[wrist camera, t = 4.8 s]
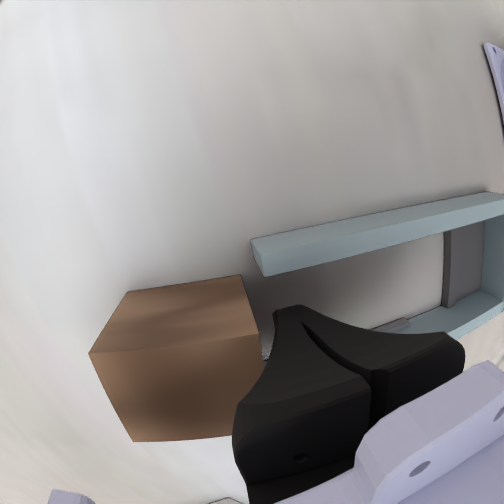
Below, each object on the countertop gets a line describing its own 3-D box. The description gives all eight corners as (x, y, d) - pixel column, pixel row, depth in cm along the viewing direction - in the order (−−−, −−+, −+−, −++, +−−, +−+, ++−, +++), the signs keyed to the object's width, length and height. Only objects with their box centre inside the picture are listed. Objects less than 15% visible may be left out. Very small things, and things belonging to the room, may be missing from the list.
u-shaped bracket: (487, 191, 14) (516, 196, 11) (482, 295, 15) (507, 308, 13) (250, 239, 12) (260, 254, 10) (276, 374, 14) (288, 406, 12)
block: (240, 274, 13) (259, 333, 8) (251, 352, 14) (271, 428, 9) (127, 291, 12) (88, 353, 7) (150, 366, 13) (133, 442, 8)
